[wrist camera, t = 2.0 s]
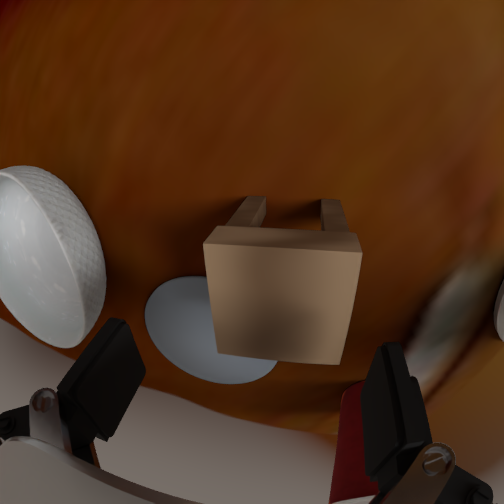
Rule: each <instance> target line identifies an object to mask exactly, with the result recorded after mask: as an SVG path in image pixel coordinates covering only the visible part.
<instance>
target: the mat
mask: <svg viewBox="0 0 504 504" xmlns="http://www.w3.org/2000/svg"><path fill="white" fill-rule="evenodd" d="M145 323H146V327H147V330H148V333H149V335H150V337H151V339H152V341H153V342H154V344H155V345H156V347H157V348H158V349H159V350H160V352H161V353H162V354H163V355H164V356H165V357H166V358H167V359H168V360H169V361H171V362H172V363H173V364H174V365H176V366H177V367H179V368H180V369H182V370H184V371H185V372H187V373H189V374H191V375H193V376H196V377H198V378H201V379H204V380H207V381H211V382H215V383H222V384H241V383H247V382H251V381H254V380H257V379H259V378H261V377H263V376H264V375H266V374H267V373H268V372H270V371H271V370H272V369H273V367H274V366H275V365H276V363H277V361H274V360H265V359H256V358H248V357H240V356H232V355H225V354H219V353H217V346H216V340H215V333H214V326H213V319H212V312H211V305H210V298H209V290H208V282H207V277H203V276H184V277H178V278H174V279H172V280H169V281H167V282H165V283H163V284H162V285H160V286H159V287H158V288H157V289H156V290H155V291H154V292H153V294H152V295H151V296H150V298H149V300H148V302H147V304H146V308H145Z"/></svg>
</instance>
